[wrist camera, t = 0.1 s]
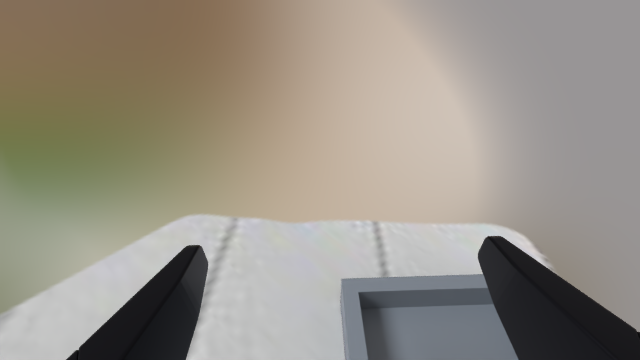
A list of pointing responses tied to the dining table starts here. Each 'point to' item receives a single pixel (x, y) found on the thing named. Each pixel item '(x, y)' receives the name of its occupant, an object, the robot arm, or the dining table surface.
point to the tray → (422, 319)
